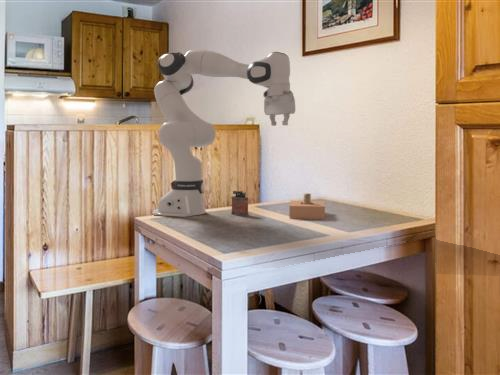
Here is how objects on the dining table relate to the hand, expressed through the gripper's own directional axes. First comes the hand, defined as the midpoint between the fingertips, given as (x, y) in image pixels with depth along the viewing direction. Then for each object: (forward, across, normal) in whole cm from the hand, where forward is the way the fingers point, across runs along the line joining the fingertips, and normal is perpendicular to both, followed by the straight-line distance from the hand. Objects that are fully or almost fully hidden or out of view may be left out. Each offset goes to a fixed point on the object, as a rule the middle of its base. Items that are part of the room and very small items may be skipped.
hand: (279, 125), depth 188 cm
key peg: (+37, -12, -7) cm, 39 cm away
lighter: (+37, +3, +17) cm, 41 cm away
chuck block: (+37, -12, -7) cm, 39 cm away
